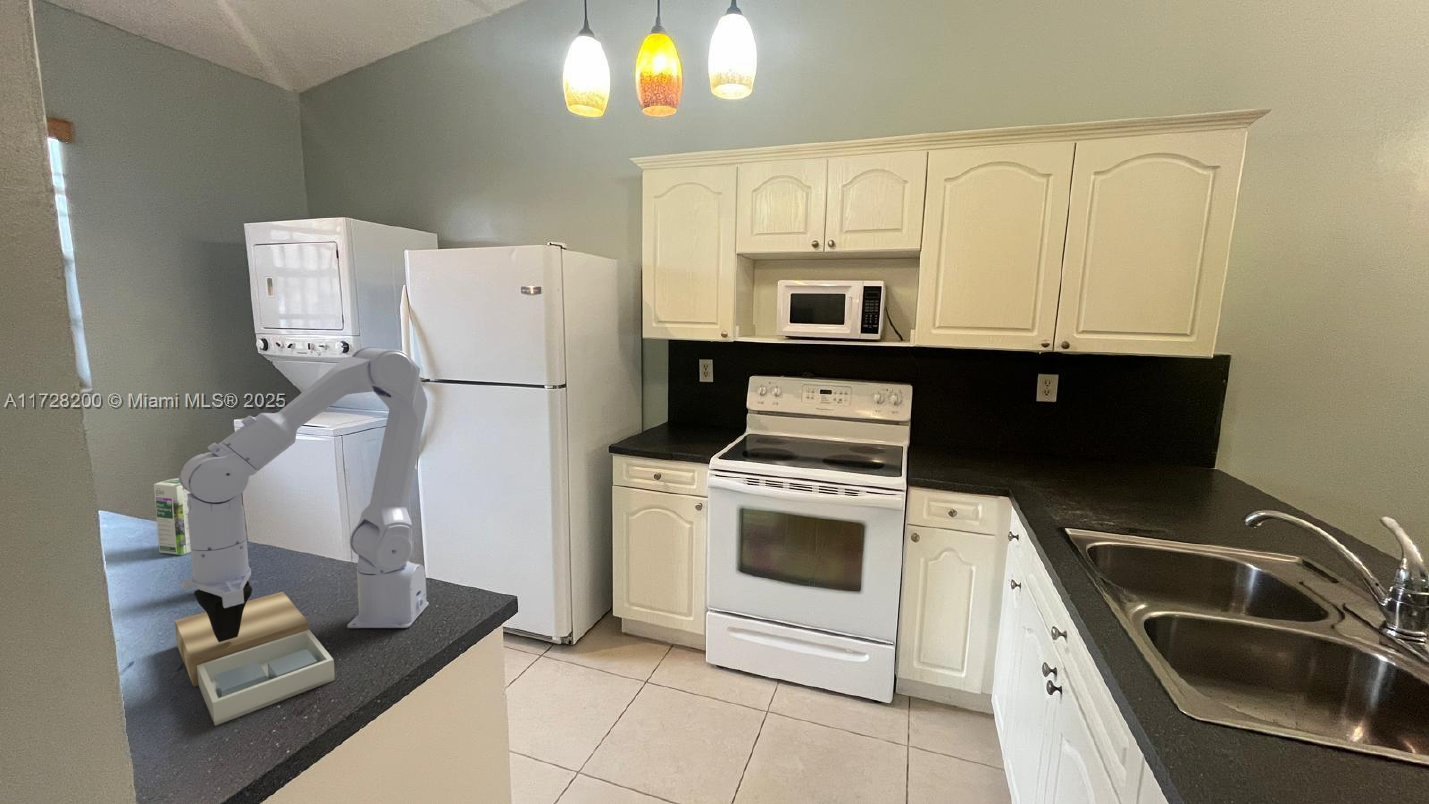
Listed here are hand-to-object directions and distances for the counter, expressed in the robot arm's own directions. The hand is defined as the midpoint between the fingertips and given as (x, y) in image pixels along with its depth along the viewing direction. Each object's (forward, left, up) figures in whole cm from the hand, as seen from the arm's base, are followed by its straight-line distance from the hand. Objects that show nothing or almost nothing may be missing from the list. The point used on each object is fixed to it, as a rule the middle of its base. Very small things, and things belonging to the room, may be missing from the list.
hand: (227, 637), depth 79 cm
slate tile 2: (-10, +2, -2) cm, 10 cm away
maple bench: (+2, -6, -5) cm, 8 cm away
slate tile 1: (-5, +5, -2) cm, 7 cm away
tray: (-7, +3, -5) cm, 9 cm away
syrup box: (+39, -43, -5) cm, 58 cm away
